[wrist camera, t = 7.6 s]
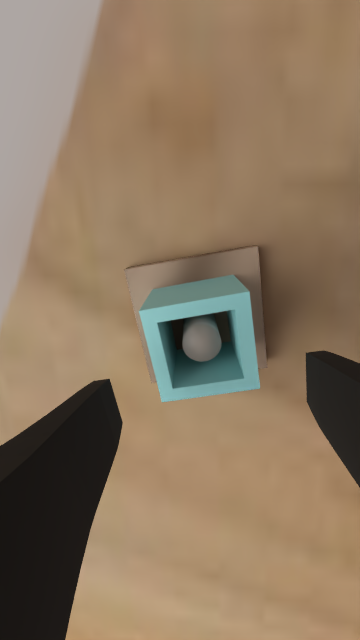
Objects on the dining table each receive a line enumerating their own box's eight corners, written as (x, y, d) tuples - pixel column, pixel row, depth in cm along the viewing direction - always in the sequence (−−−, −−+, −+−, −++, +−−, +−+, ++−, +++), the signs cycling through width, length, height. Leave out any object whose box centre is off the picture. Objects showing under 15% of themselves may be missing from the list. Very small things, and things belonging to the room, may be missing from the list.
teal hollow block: (233, 274, 16) (249, 291, 11) (242, 349, 17) (260, 388, 13) (152, 289, 16) (138, 310, 12) (168, 360, 18) (161, 402, 14)
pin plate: (254, 245, 16) (277, 251, 12) (263, 360, 19) (284, 399, 14) (127, 267, 17) (106, 280, 13) (153, 375, 19) (142, 416, 15)
